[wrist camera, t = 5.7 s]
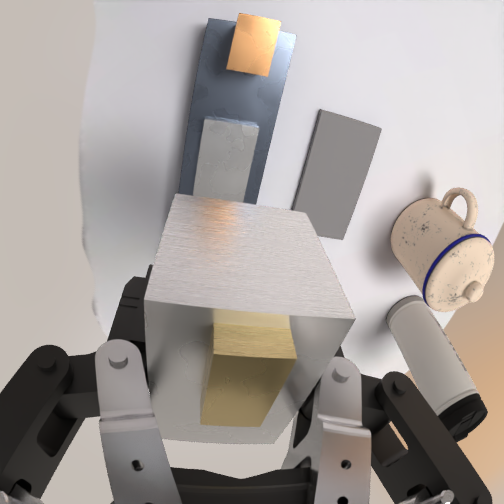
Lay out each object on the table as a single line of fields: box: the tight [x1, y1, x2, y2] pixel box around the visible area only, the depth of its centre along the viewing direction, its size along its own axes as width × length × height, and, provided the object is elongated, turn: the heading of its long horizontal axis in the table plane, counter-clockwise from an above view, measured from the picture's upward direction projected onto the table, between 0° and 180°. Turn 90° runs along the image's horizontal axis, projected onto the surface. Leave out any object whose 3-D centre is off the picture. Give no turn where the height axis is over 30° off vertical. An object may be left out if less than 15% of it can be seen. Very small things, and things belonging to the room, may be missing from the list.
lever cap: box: [144, 193, 356, 444], centre depth 10 cm, size 7×4×6 cm, turn 168°
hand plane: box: [179, 13, 296, 205], centre depth 23 cm, size 23×6×8 cm, turn 168°
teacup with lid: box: [391, 188, 494, 312], centre depth 27 cm, size 12×9×12 cm
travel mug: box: [387, 296, 488, 442], centre depth 32 cm, size 6×7×20 cm
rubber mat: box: [292, 109, 382, 240], centre depth 28 cm, size 12×6×1 cm, turn 168°
